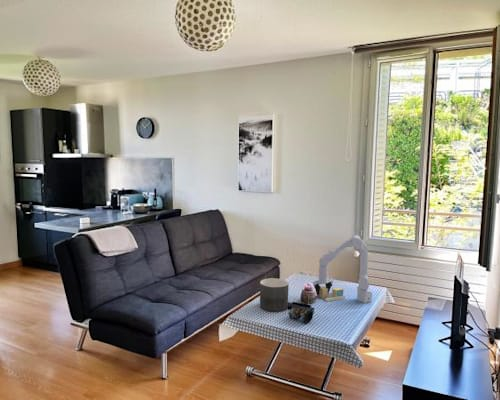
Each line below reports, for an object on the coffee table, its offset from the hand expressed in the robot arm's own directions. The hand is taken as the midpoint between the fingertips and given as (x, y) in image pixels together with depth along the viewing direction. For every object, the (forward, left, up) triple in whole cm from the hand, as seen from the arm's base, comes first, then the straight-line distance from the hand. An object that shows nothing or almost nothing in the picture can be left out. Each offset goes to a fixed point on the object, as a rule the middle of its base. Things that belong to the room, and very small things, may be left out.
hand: (322, 294), depth 260 cm
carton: (0, 0, -1) cm, 1 cm away
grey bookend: (-3, -4, -3) cm, 6 cm away
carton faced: (-6, -8, -1) cm, 10 cm away
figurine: (-26, +33, -3) cm, 42 cm away
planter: (-2, +38, -3) cm, 38 cm away
